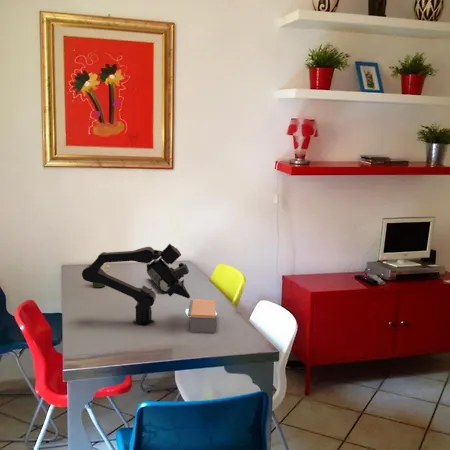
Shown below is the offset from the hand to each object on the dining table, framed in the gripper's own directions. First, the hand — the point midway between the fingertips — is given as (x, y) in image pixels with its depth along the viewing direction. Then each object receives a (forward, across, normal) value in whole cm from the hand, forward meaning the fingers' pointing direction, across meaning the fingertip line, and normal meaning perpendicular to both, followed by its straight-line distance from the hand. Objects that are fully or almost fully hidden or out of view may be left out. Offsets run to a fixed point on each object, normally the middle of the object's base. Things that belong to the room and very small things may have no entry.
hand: (189, 297), depth 222 cm
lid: (+8, 0, 0) cm, 8 cm away
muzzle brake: (-4, +54, +21) cm, 58 cm away
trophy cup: (-27, +51, +44) cm, 72 cm away
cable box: (+12, +5, +4) cm, 14 cm away
